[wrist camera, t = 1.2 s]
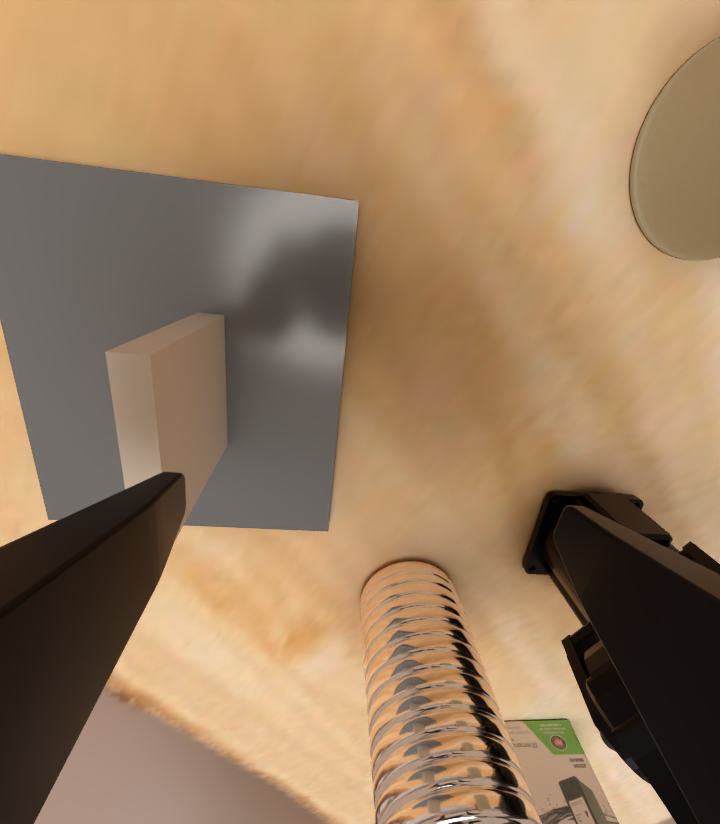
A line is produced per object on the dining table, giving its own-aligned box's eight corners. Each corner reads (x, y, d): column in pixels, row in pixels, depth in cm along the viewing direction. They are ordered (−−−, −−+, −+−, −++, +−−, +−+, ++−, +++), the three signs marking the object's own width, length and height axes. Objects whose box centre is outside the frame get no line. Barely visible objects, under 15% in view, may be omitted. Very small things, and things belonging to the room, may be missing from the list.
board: (328, 520, 24) (328, 531, 23) (60, 508, 23) (48, 519, 22) (357, 203, 18) (359, 200, 17) (-20, 154, 16) (-41, 148, 15)
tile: (227, 445, 21) (169, 550, 13) (200, 443, 21) (127, 548, 13) (224, 314, 18) (150, 355, 11) (193, 311, 18) (97, 350, 11)
